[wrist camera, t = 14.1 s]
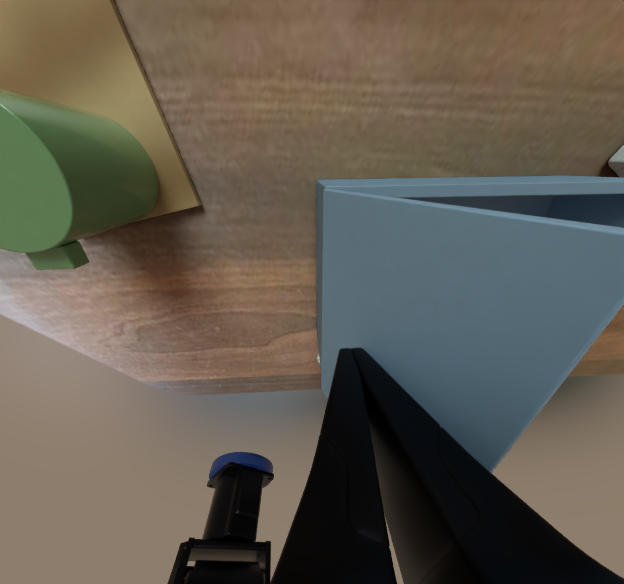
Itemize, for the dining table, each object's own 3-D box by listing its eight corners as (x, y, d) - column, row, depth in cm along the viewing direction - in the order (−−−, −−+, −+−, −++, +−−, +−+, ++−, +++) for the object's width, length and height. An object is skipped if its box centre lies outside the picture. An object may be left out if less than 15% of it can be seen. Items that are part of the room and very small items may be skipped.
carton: (316, 329, 18) (322, 380, 14) (316, 179, 13) (324, 186, 9) (494, 322, 19) (552, 368, 15) (563, 175, 14) (689, 179, 9)
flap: (325, 387, 14) (320, 389, 13) (331, 188, 8) (322, 189, 8) (433, 547, 8) (426, 554, 8) (681, 234, 2) (671, 239, 2)
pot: (176, 236, 14) (110, 273, 9) (89, 238, 14) (-26, 277, 9) (130, 86, 10) (-15, 17, 6) (13, 86, 10) (-239, 16, 5)
